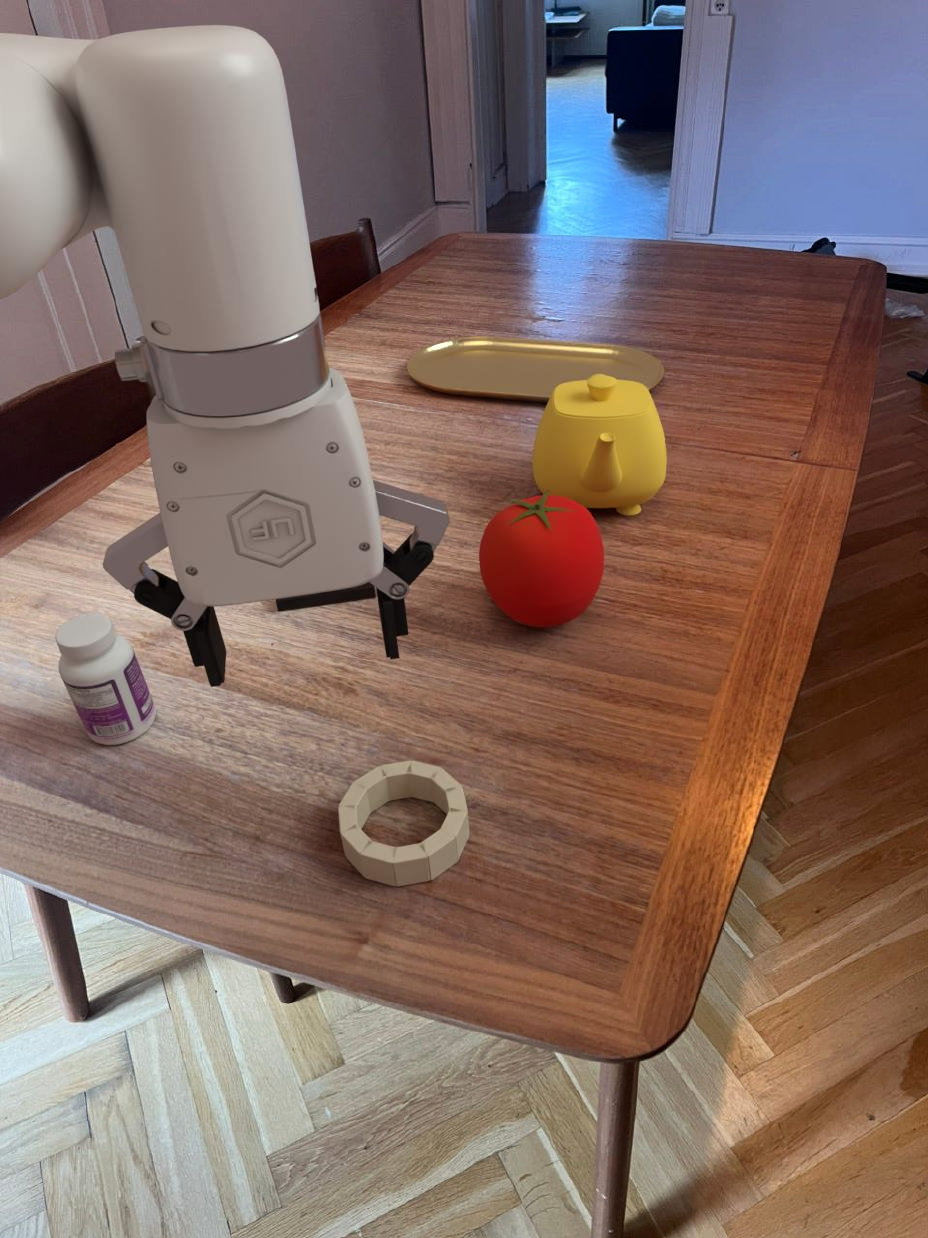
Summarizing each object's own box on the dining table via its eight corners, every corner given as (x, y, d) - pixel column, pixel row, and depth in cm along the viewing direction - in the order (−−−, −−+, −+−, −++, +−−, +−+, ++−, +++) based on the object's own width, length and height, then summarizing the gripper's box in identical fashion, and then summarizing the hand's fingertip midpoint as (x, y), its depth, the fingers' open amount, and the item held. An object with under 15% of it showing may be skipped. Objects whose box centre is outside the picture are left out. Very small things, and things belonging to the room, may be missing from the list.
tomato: (628, 607, 78) (636, 500, 72) (547, 664, 73) (547, 555, 66) (540, 562, 84) (540, 460, 78) (460, 611, 79) (452, 507, 72)
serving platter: (650, 417, 108) (651, 405, 107) (386, 393, 118) (385, 382, 117) (673, 359, 122) (674, 348, 121) (435, 342, 132) (434, 332, 131)
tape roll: (348, 896, 56) (342, 871, 55) (340, 796, 63) (335, 772, 61) (478, 872, 57) (476, 848, 55) (457, 776, 64) (454, 752, 62)
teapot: (656, 455, 100) (665, 345, 92) (673, 553, 84) (686, 431, 77) (534, 456, 101) (533, 347, 94) (529, 553, 86) (527, 432, 78)
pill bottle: (125, 692, 73) (88, 598, 67) (171, 713, 70) (137, 617, 65) (72, 734, 69) (28, 638, 63) (119, 757, 67) (78, 660, 61)
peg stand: (277, 611, 81) (263, 550, 76) (277, 558, 88) (264, 499, 83) (376, 597, 81) (367, 535, 77) (367, 545, 88) (359, 486, 84)
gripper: (21, 422, 35) (140, 728, 46) (447, 370, 37) (468, 676, 48) (57, 354, 41) (155, 639, 52) (423, 313, 43) (447, 596, 53)
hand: (305, 656), depth 50 cm, fingers open, 9 cm apart
